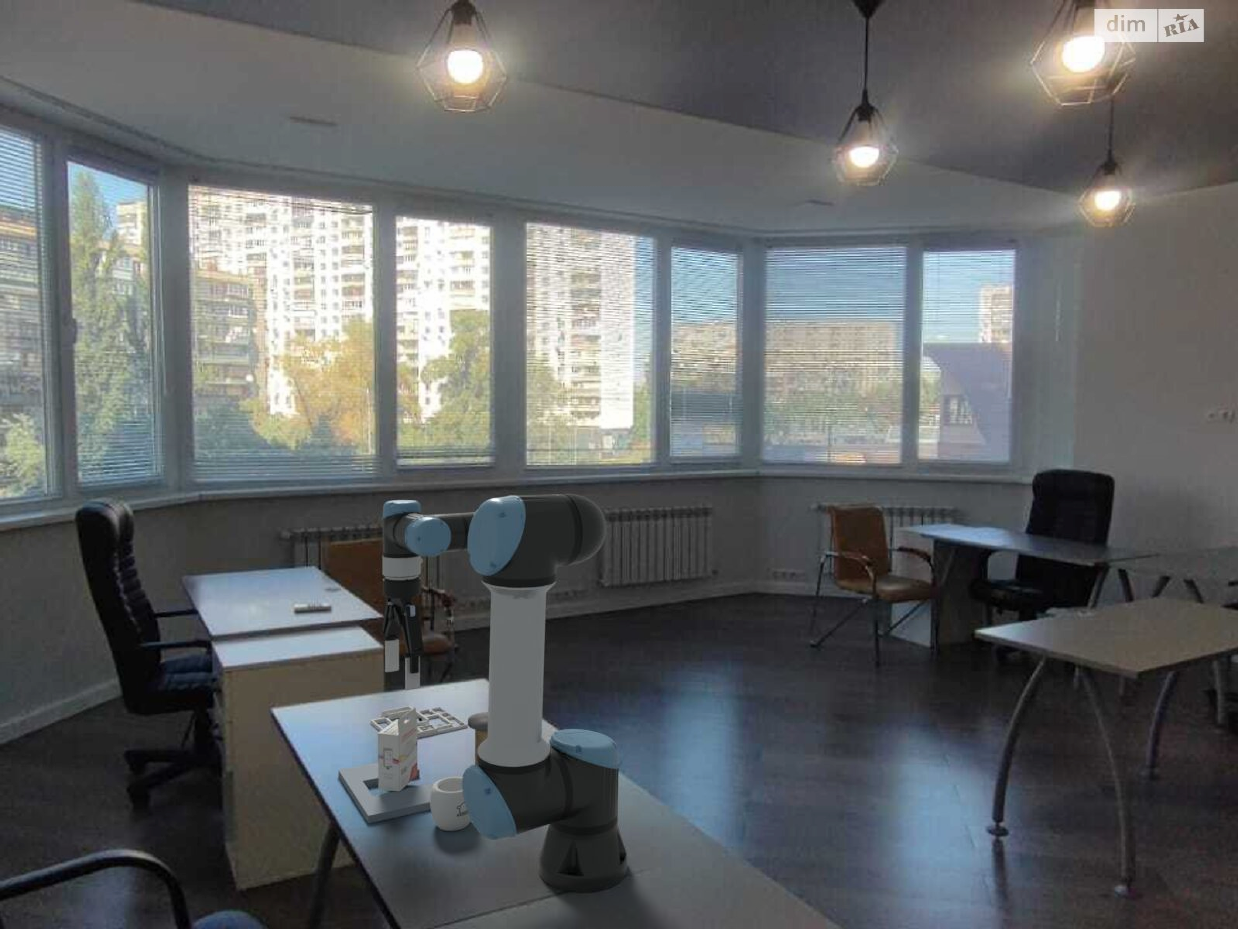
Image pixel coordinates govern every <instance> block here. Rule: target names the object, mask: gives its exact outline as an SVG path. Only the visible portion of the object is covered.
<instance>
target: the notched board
mask: <svg viewBox="0 0 1238 929" xmlns="http://www.w3.org/2000/svg"><path fill="white" fill-rule="evenodd" d="M419 777H420V768H419V767H418V766H417V775H416V776H415V777H414V778H419ZM338 779H339V780H340V782H341V783H342V785H343V786H344V788H345V789H346V791H347V793H348V794H349V796H350V798H351V799H352V800H353V802H354V804H355V805H356V806H357V808H358V809H359V812H360V813H361V814H362V816H363V818H365V821H366V822H367V824H373V823H377V822H381V821H385V820H390V819H394V818H398V817H404V816H408V815H413V814H417V813H421V812H426V811H429V810H430V811H431V807H430V795H431V789H432V787H433V785H434V783H429V784H428V783H427V784H423V785H419V786H418V785H417V786H413V787H409V788H405V789H404V788H403V789H402V790H401V791H391V792H385V793H381V794H377V795H373V794H372V793H371V791H370V789H369V787H374V786H378V785H379V781H378V761H377V762H372V763H367V764H361V765H357V766H352V767H347V768H342V769H338ZM407 814H408V815H407Z"/></svg>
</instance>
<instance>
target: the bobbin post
mask: <svg viewBox="0 0 1238 929" xmlns="http://www.w3.org/2000/svg"><path fill="white" fill-rule="evenodd" d="M467 724H468V727H469V728H470V729H471V730H472V729H473V730H474V765H477V755H478V747H479V745H480V744H481V743H482V742H483V741H484V740H486V739H487V737H488V711H487V712H486V711H484V712H479V713H474V714H472V715H470V716H469V717H468V719H467Z"/></svg>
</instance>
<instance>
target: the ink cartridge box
mask: <svg viewBox="0 0 1238 929" xmlns="http://www.w3.org/2000/svg"><path fill="white" fill-rule="evenodd" d="M412 708H413V709H412V710H411V711H409V712H408V713H406V714H405V715H404V716H402V717H401V718H397V719H394V721H392V723H391V724H390V725H389V724H388V725H387V726H386V727H384V728H383V730H382V731H378V732H377V762H378V781H379V785H377V787H378V790H381V791H391V792H394V791H401V790H404V788H405V787H406V786H407V785H408V784H409V783H410V782H412V781H413V779H414V778H416V777H415V776H416V775H417V767H418V738H417V722H418V719H417V716H416V710H417V709H416V707H412ZM407 718H410V720H407Z"/></svg>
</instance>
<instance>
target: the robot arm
mask: <svg viewBox="0 0 1238 929" xmlns="http://www.w3.org/2000/svg"><path fill="white" fill-rule="evenodd" d="M382 507H383V509H382V518H381V522H382V576H384V578H383V579H382V595H383V597H385V609H384V615H383V620H382V621H383V622H382V627H381V635H382V636H383V638H384V640H385V641H384V646H385V647H384V649H385V650H384V657H385V658H384V660H385V662H384V665H385V666H384V668H385V670H384V672H385V673H392V672H397V671H399V670H400V640H399V639H401V634H400V631H401V632H402V638H403V643H404V646H405V647H404V648H405V651H406V653H404V655H403V658H404V659H405V660H404V661H405V663H404V664H405V665H404V666H405V668H404V669H405V670H404V672H405V675H404V677H405V678H404V679H405V680H404V685H405V687H404V688H405V690H406V691H408V690H409V691H410V690H415V689H420V687H421V656H424V655H425V649H424V648H425V647H424V642H423V636H422V635H423V634H422V629H421V628H422V627H421V622H420V607H419V604H413V603H414V602H413V599H414V598H417V597H418V596H420V595H421V594H422V593H421V592H422V579H421V578H422V577H420V576H419V575H420V574H421V572H422V570H421V568H422V566H421V564H423V562H424V560H423V558H422V557H428V558H430V557H431V558H433V557H438V556H440V555H442V554H443V553H450V552H461V551H462V552H463V551H467V553H468V555H470V556H469V562H470V565H471V566H472V568H473V570H474V571H475V572H476V573H478V574H479V575H481V583H482V584H483V585H484V586H485V587H486V588H487V590H489V591H490V627H489V628H490V629H489V630H490V631H489V660H488V661H489V665H488V666H489V668H488V670H489V671H488V700H487V702H488V703H487V704H488V705H487V706H488V707H487V712H488V737H487V739H486V740H484V741H483V742H482V743H481V744H480V745H479V747H478V755H477V765H475V764H471V765H470V766H469V767H467V768H466V769H465V770H464V772H463V774H462V777H463V778H462V790H463V797H464V801H465V805H466V808H467V811H468V814H469V816H470V818H471V822H472V824H473V826H474V827H475V829H476V830H477V832H478V833H480V835H481V836H483V837H484V838H486V839H487V840H490V841H496V840H497V841H498V840H501V839H504V838H505V839H506V838H508V837H509V838H514V837H516V835H520V834H523V833H526V832H529V831H531V830H535V829H538V828H541V827H544V826H547V825H549V826H548V828H547V830H546V833H545V837H544V840H543V842H542V845H541V846H542V847H541V849H540V852H539V853H538V854H539V855H538V873H539V876H540V877H541V878H542V880H544V882H546V883H547V884H548V885H550V886H552V887H553V888H556V889H560V890H562V891H563V890H564V891H568V892H573V893H591V892H597V891H602V890H606V889H609V888H611V887H613V886H616V885H617V884H619V883H620V882H621V881H622V880H623V879H624V878H625V876H627V873H628V853H627V850H626V847H625V843H624V839H623V837H622V833H621V830H620V827H619V822H618V820H619V819H618V818H619V772H620V771H619V770H620V766H621V765H620V760H619V756H620V755H619V747H618V745H617V743H616V741H614V740H613V738H611V737H610V736H608V735H606V734H603V733H601V732H597V731H594V730H589V729H588V730H587V729H581V728H579V729H578V728H568V729H567V728H566V729H560V730H557V731H554V732H553V733H552V735H551V736H550V739H549V742H547V741H546V740H545V739H544V738H543V736H542V735H543V734H542V731H543V703H544V702H543V699H544V667H545V640H546V639H545V638H546V637H545V636H546V634H545V633H546V610H547V609H546V607H547V606H546V604H547V592H548V591H549V590H550V589H551V588H552V587H553V586H555V585H556V582H557V568H559V567H566V566H573V565H578V564H580V563H583V562H585V561H587V560H589V559H591V558H592V557H593V556H595V555H596V553H597V552H599V550H600V549H601V548H602V546H603V544H604V541H605V539H606V535H607V523H606V518H605V516H604V513H603V512H602V509H601V508H600V507H599V506H598V505H597V504H596V502H594V501H593V500H591V499H590V498H588V497H586V496H584V495H580V494H573V493H556V494H527V495H526V494H525V495H523V494H521V495H512V494H510V495H507V496H501V497H492V498H490V499H487V500H485V501H484V502H483V503H481V504H480V505H479V506H478V509H476V511H473V512H457V513H453V512H452V513H439V514H438V513H437V514H423V511H422V508H421V507H422V506H421V503H420V502H419V501H418V500H410V499H409V500H408V499H397V500H388V501H386V502H385V503H384V504H383V506H382Z"/></svg>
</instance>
